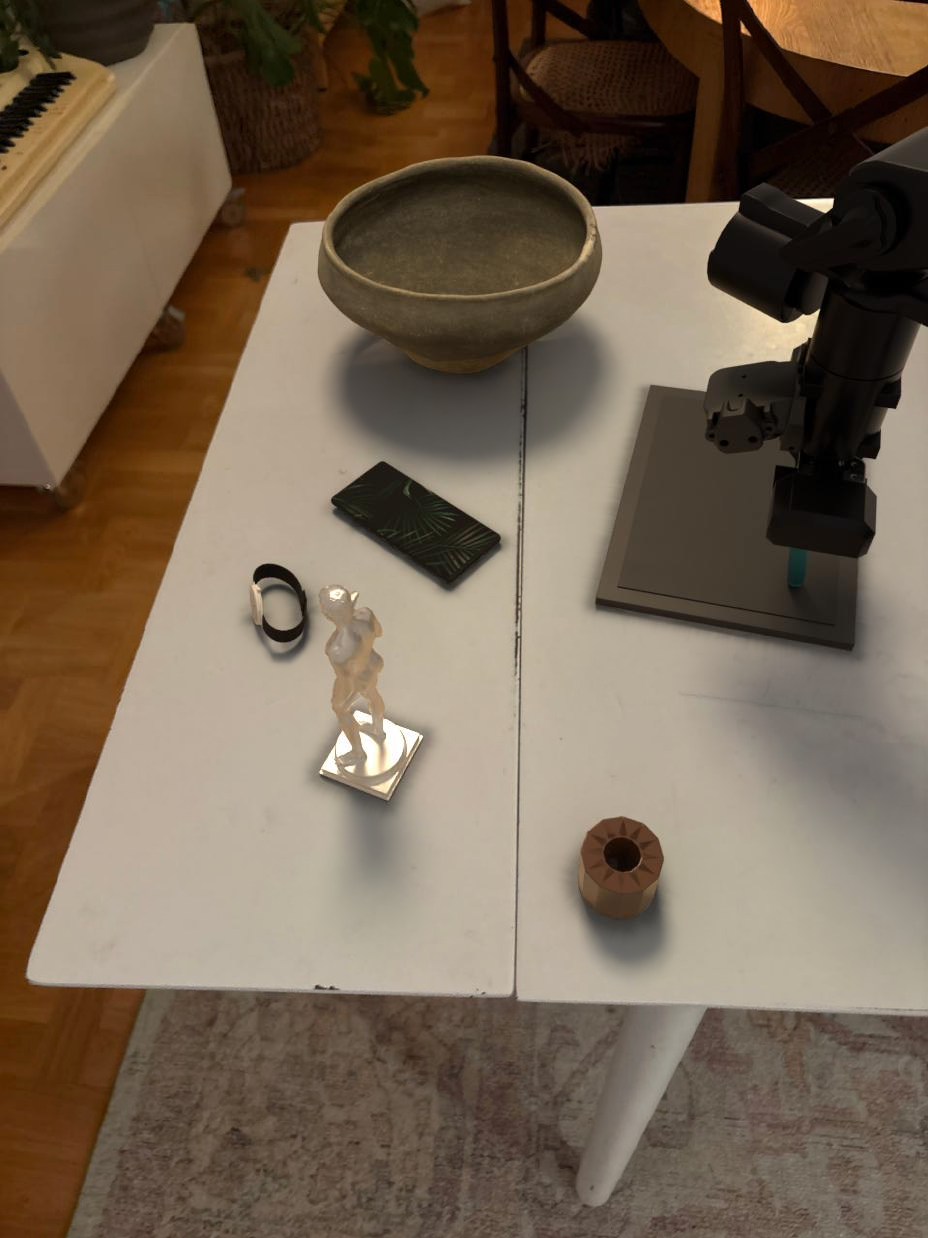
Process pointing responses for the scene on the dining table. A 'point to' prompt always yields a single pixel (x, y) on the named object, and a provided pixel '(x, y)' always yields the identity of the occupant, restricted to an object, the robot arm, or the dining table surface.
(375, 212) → the bowl
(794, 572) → the stylus
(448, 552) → the smartphone
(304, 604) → the watch
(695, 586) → the tablet
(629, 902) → the pen stand
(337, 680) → the figurine
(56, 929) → the dining table surface
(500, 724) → the dining table surface
